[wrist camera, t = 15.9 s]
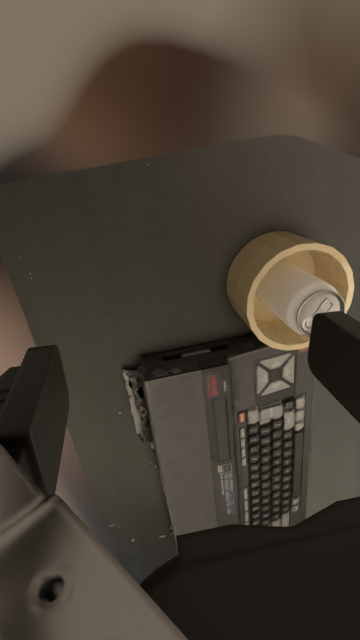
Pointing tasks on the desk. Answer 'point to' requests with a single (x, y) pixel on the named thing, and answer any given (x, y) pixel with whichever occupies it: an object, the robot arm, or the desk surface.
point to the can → (297, 296)
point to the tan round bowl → (256, 264)
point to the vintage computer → (227, 431)
